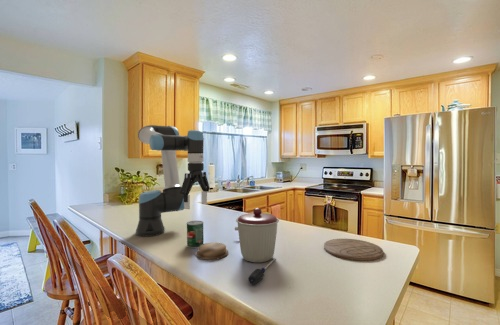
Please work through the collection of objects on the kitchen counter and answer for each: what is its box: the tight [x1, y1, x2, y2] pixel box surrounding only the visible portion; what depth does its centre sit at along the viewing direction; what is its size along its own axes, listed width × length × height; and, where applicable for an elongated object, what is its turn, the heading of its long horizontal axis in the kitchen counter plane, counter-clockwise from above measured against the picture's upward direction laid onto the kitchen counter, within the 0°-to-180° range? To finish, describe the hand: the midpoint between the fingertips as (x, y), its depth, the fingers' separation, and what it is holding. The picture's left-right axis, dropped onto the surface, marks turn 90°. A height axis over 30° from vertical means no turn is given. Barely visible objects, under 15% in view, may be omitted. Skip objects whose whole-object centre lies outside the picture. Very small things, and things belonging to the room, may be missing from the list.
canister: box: [235, 207, 280, 264], centre depth 111 cm, size 18×18×21 cm
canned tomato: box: [186, 220, 204, 249], centre depth 128 cm, size 8×8×11 cm
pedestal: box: [195, 242, 229, 261], centre depth 117 cm, size 14×14×3 cm
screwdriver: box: [247, 258, 276, 285], centre depth 99 cm, size 26×4×4 cm, turn 157°
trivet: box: [323, 238, 384, 262], centre depth 120 cm, size 25×25×2 cm
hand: (196, 206), depth 128 cm, fingers open, 13 cm apart
